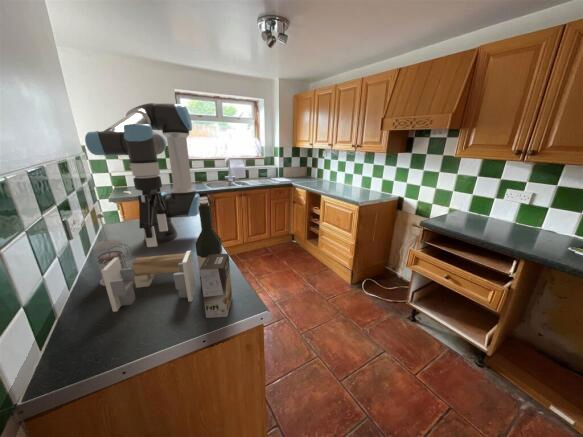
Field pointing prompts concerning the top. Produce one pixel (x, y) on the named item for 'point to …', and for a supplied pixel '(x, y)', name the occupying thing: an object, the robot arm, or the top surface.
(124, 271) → the brackets
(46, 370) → the top surface
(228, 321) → the top surface
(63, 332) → the top surface
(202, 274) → the coffee box
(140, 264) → the rail
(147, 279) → the spacers
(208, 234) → the wine bottle
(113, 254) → the french press
